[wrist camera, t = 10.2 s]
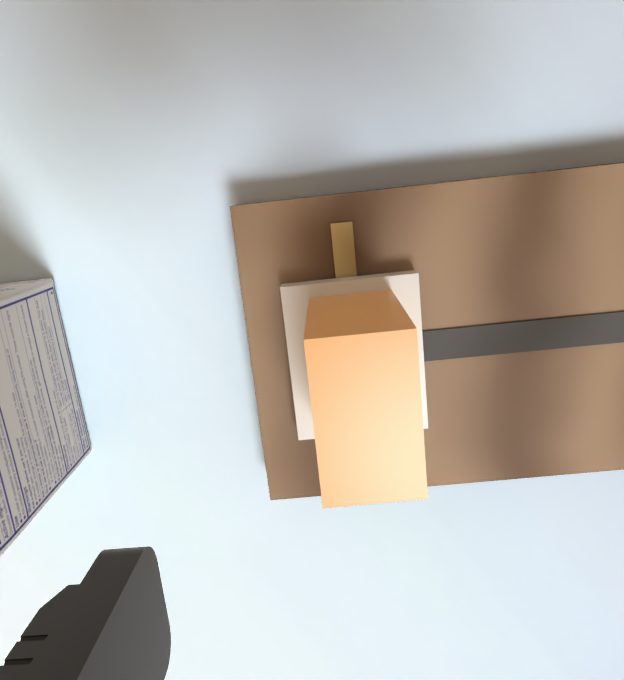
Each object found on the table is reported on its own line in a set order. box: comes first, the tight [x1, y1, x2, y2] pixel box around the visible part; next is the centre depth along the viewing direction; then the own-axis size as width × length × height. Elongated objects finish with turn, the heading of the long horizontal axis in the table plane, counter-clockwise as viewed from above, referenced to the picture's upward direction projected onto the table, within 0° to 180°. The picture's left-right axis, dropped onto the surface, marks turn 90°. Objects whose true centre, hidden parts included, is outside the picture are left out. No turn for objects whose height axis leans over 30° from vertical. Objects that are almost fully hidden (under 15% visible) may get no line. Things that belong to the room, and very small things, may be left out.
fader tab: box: [280, 270, 428, 508], centre depth 20 cm, size 5×6×7 cm
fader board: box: [230, 162, 624, 500], centre depth 24 cm, size 22×12×2 cm, turn 96°
